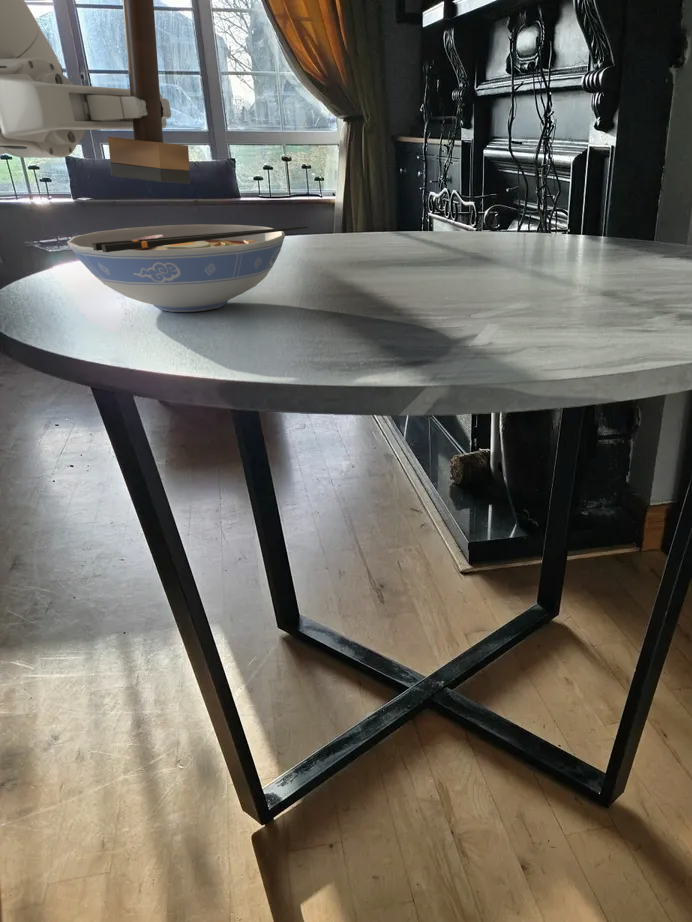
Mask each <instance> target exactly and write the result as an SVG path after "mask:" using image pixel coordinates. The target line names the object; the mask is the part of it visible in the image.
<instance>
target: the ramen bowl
mask: <svg viewBox="0 0 692 922" xmlns="http://www.w3.org/2000/svg"><path fill="white" fill-rule="evenodd" d="M308 228H309V227H308V226H305V225H303V226H290V227H278V228H277V227H276V228H273V227H268V226H259V225H244V224H209V223H208V224H205V223H204V224H175V225H174V224H172V225H171V224H170V225H153V226H140V227H126V228H118V229H110V230H102V231H101V230H100V231H95V232H89V233H85V234H80V235H76V236H73V237H71V238H70V239H69V240H67V241H66V243H67V245H68V247H70V249H71V250H72V252H73V253H74V255H75V256H76V258H77V259H78V260H79V261H80V262H81V264H83V265H84V266H85V268H86V269H88V271H89V272H90V273H91V274H92V275H93V276H94V277H96V278H97V279H98V280H99V281H100V282H101V283H102V284H103V285H104V286H107V287H108V288H110V289H111V290H114V291H115V292H117V293H119V294H121V295H122V296H125V297H127V298H129V299H132V300H135V301H138V302H141V303H144V304H148V305H151V306H153V307H155V308H157V309H158V310H161V311H164V312H170V313H197V312H204V311H210V310H214V309H220V308H221V307H223V306H224V305H226V304H227V303H228V302H229V300H232V299H234V298H236V297H238V296H240V295H242V294H245V293H246V292H248V291H249V290H251V289H253V288H255V287H256V286H258V284H260V283H261V282H262V281H263V280H264V279H265V278H266V277H267V276H268V274H269V273H270V271H271V270H272V268H273V266H274V264H275V263H276V261H277V259H278V257H279V255H280V252H281V250H282V247H283V244H284V241H285V237H286V234H285V231H286V232H287V231H294V230H302V229H308Z"/></svg>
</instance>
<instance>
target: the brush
mask: <svg viewBox="0 0 692 922" xmlns="http://www.w3.org/2000/svg"><path fill="white" fill-rule="evenodd" d="M122 11H123V24H124V34H125V35H124V36H125V37H124V38H125V47H126V59H127V71H128V81H129V82H128V83H129V89H130V96H131V97H142V98H143V99H144V100H145V102H146V109H147V113H148V115H147V117H146V118H132V120H133V129H132V130H133V131H132V132H133V138H126V137H125V138H123V137H117V136H116V137H115V136H107V141H108V152H109V162H110V172H111V173H110V174H111V177H117V178H126V179H133V180H134V179H135V180H142V181H151V182H157V183H158V182H159V183H173V184H174V183H175V184H178V183H179V184H191V171H190V155H189V154H190V152H189V151H190V150H189V145H187V144H177V143H171V142H170V143H169V142H164V136H163V135H164V134H163V129H162V118H161V104H160V94H161V93H160V92H161V91H160V77H159V63H158V62H159V60H158V48H157V47H158V46H157V34H156V20H155V4H154V0H122Z"/></svg>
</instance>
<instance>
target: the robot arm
mask: <svg viewBox="0 0 692 922" xmlns="http://www.w3.org/2000/svg"><path fill="white" fill-rule="evenodd" d="M160 104H161V118H162V130H163V129H165V128H167V125H168V123H167V122H168V121H167V120H169V119H171V117H172V111H171V105H170V101H169V100H168V99H167V98H165V97H164V98H163V95H162V93H160ZM147 115H148V113H147V109H146V102H145V100H144V99H143V98H142V97H131V96H130V88H121V87H108V86H106V87H105V86H93V85H92V86H91V85H78V84H74V83H73V82H72V81H71V80H70V79H69V78H68V77H67V76H66V75H64V71H63V67H62V64H61V62H60V61H59V58H58V56H57V55H56V53H55V51H54V49H53V48H52V45H50V42H49V40H48V39H47V37H46V36H45V33H44V32H43V31H42V29H41V27H40V26H39V23H38V21H37V20H36V17H35V16H34V15H33V13H32V10H30V7H29V6H28V4H27V3H26V1H25V0H0V156H2V155H5V154H8V155H10V156H13V157H17V158H26V159H27V158H29V159H31V158H33V159H34V158H35V159H39V158H41V159H43V158H44V159H45V158H49V159H50V158H51V159H53V158H54V159H55V158H56V159H59V158H60V159H61V158H67V157H68V156H70V155H71V154H72V153H73V152H74V151H75V149H76V148H77V146H78V143H79V142H80V141H81V140H82V139H83V136H84V134H85V131H87V130H88V131H89V130H91V131H97V130H101V131H102V130H105V131H107V130H108V131H109V130H113V131H114V130H119V131H120V130H125V131H126V130H127V131H128V130H133V120H132V118H146V117H147Z"/></svg>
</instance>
